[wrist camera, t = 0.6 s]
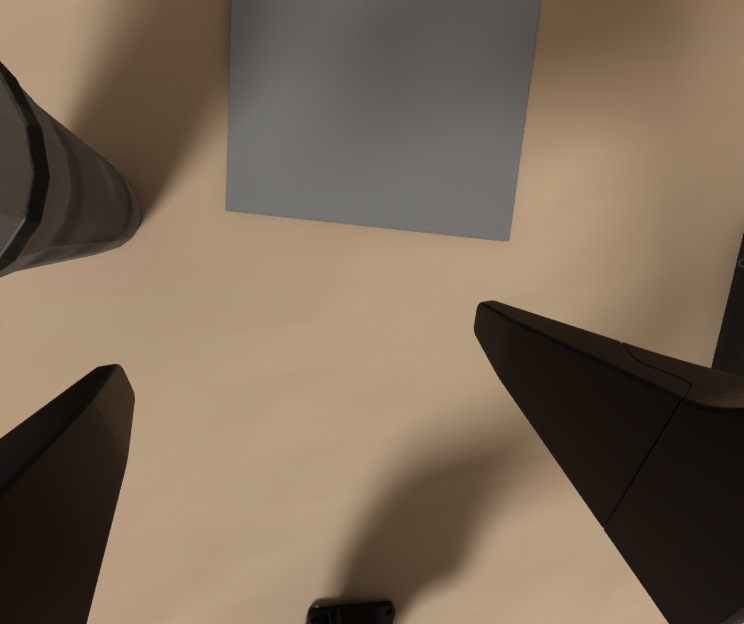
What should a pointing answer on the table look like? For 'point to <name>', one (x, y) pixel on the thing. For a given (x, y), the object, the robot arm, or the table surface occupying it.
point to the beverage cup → (55, 189)
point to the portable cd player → (733, 325)
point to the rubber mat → (380, 111)
